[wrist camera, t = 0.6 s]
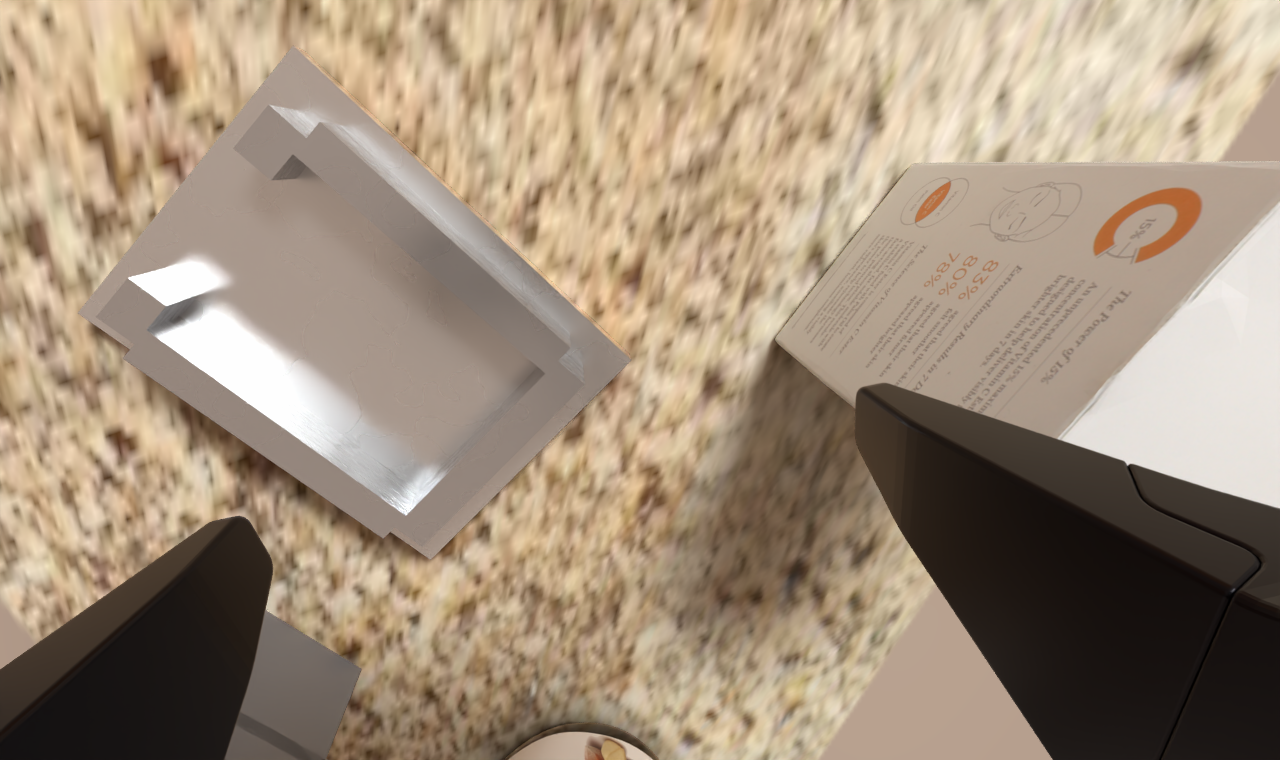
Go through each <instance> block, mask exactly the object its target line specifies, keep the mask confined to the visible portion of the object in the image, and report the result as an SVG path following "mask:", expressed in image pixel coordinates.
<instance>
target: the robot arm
mask: <svg viewBox="0 0 1280 760" xmlns="http://www.w3.org/2000/svg"><path fill="white" fill-rule="evenodd" d="M855 439H856V443H857V446H858V449H859V451H860V453H861V455H862V457H863V459H864V461H865V463H866V465H867V467H868V469H869V471H870V473H871V475H872V477H873V479H874V481H875V483H876V484H877V486H878V488H879V490H880V492H881V494H882V496H883V498H884V500H885V502H886V504H887V506H888V508H889V510H890V512H891V514H892V516H893V518H894V520H895V521H896V523H897V525H898V527H899V529H900V531H901V532H902V534H903V535H904V537H905V539H906V540H907V542H908V543H909V545H910V546H911V548H912V549H913V551H914V552H915V554H916V555H917V557H918V558H919V560H920V561H921V563H922V564H923V566H924V567H925V569H926V570H927V572H928V573H929V575H930V576H931V578H932V579H933V581H934V582H935V584H936V585H937V587H938V588H939V590H940V591H941V593H942V594H943V596H944V597H945V599H946V600H947V602H948V603H949V605H950V606H951V608H952V609H953V610H954V612H955V614H956V615H957V617H958V618H959V620H960V621H961V623H962V624H963V626H964V627H965V629H966V630H967V632H968V633H969V635H970V636H971V637H972V639H973V641H974V642H975V644H976V645H977V647H978V648H979V650H980V651H981V653H982V654H983V656H984V657H985V659H986V660H987V662H988V663H989V665H990V666H991V668H992V669H993V671H994V672H995V674H996V675H997V677H998V678H999V680H1000V681H1001V683H1002V684H1003V686H1004V687H1005V689H1006V690H1007V692H1008V693H1009V695H1010V696H1011V698H1012V699H1013V701H1014V702H1015V704H1016V705H1017V707H1018V708H1019V710H1020V711H1021V713H1022V714H1023V716H1024V717H1025V718H1026V720H1027V722H1028V723H1029V724H1030V726H1031V728H1032V729H1033V731H1034V732H1035V734H1036V735H1037V737H1038V738H1039V740H1040V741H1041V743H1042V744H1043V746H1044V747H1045V749H1046V750H1047V752H1048V753H1049V755H1050V756H1051V758H1052V759H1053V760H1280V508H1277V507H1273V506H1270V505H1266V504H1263V503H1259V502H1256V501H1252V500H1249V499H1245V498H1242V497H1238V496H1235V495H1231V494H1228V493H1224V492H1221V491H1217V490H1214V489H1210V488H1207V487H1204V486H1201V485H1198V484H1194V483H1191V482H1188V481H1185V480H1182V479H1178V478H1175V477H1172V476H1169V475H1166V474H1163V473H1160V472H1157V471H1154V470H1151V469H1148V468H1145V467H1142V466H1139V465H1136V464H1129V465H1128V466H1127V464H1126V462H1125V461H1123V460H1120V459H1117V458H1114V457H1111V456H1108V455H1105V454H1102V453H1099V452H1096V451H1093V450H1090V449H1087V448H1083V447H1080V446H1077V445H1074V444H1071V443H1068V442H1065V441H1062V440H1059V439H1056V438H1053V437H1050V436H1047V435H1044V434H1041V433H1038V432H1035V431H1032V430H1029V429H1026V428H1023V427H1020V426H1017V425H1014V424H1010V423H1007V422H1004V421H1001V420H998V419H995V418H992V417H989V416H986V415H983V414H980V413H977V412H974V411H971V410H968V409H965V408H962V407H959V406H956V405H953V404H950V403H947V402H944V401H941V400H938V399H934V398H931V397H928V396H925V395H922V394H919V393H916V392H913V391H910V390H907V389H904V388H901V387H898V386H895V385H892V384H889V383H878V384H873V385H868V386H864V387H861V388H859V390H858V391H857V393H856V399H855ZM272 575H273V564H272V560H271V557H270V555H269V553H268V552H267V550H266V548H265V546H264V545H263V543H262V541H261V540H260V538H259V536H258V535H257V533H256V531H255V530H254V528H253V526H252V524H251V523H250V522H249V520H247V519H246V518H244V517H241V516H235V517H230V518H225V519H220V520H216V521H212V522H210V523H208V524H206V525H205V526H204V527H202V528H201V529H199V530H198V531H197V532H195V533H194V534H192V535H191V536H189V537H188V538H187V539H185V540H184V541H182V542H181V543H179V544H178V545H177V546H175V547H174V548H172V549H171V550H170V551H168V552H167V553H165V554H164V555H162V556H161V557H160V558H158V559H157V560H155V561H154V562H152V563H151V564H150V565H148V566H147V567H145V568H144V569H142V570H141V571H140V572H138V573H137V574H135V575H134V576H133V577H131V578H130V579H128V580H127V581H125V582H124V583H123V584H121V585H120V586H118V587H117V588H115V589H114V590H113V591H111V592H110V593H108V594H107V595H105V596H104V597H103V598H101V599H100V600H98V601H97V602H96V603H94V604H93V605H91V606H90V607H88V608H87V609H86V610H84V611H83V612H81V613H80V614H78V615H77V616H76V617H74V618H73V619H71V620H70V621H68V622H67V623H66V624H64V625H63V626H61V627H60V628H59V629H57V630H56V631H54V632H53V633H51V634H50V635H49V636H47V637H46V638H44V639H43V640H41V641H40V642H39V643H37V644H36V645H34V646H33V647H32V648H30V649H29V650H27V651H26V652H24V653H23V654H22V655H20V656H19V657H17V658H16V659H14V660H13V661H12V662H10V663H9V664H7V665H6V666H5V667H3V668H2V669H0V760H225V757H226V754H227V751H228V748H229V744H230V741H231V738H232V735H233V732H234V729H235V726H236V723H237V720H238V716H239V713H240V710H241V707H242V704H243V701H244V698H245V695H246V692H247V688H248V685H249V681H250V678H251V675H252V671H253V666H254V662H255V658H256V654H257V649H258V644H259V639H260V634H261V629H262V624H263V620H264V615H265V610H266V605H267V600H268V595H269V590H270V585H271V580H272Z"/></svg>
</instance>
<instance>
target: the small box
mask: <svg viewBox="0 0 1280 760" xmlns="http://www.w3.org/2000/svg"><path fill="white" fill-rule="evenodd" d="M775 341H776V342H777V343H778V344H779V345H780V346H781V347H782V348H783V349H784V350H786V351H787V352H788V353H789V354H790V355H792V356H793V357H794V358H795V359H796V360H797V361H798V362H800V363H801V364H802V365H803V366H804V367H805V368H806V369H808V370H809V371H810V372H811V373H812V374H813V375H815V376H816V377H817V378H818V379H819V380H820V381H822V382H823V383H824V384H825V385H826V386H828V387H829V388H830V389H831V390H833V391H834V392H835V393H836V394H838V395H839V396H840V397H841V398H843V399H844V400H845V401H846V402H847V403H849V404H850V405H851V406H852V407H854V408H855V399H856V393H857V391H858V390H859V388H861V387H864V386H868V385H873V384H878V383H889V384H892V385H895V386H898V387H901V388H904V389H907V390H910V391H913V392H916V393H919V394H922V395H925V396H928V397H931V398H934V399H938V400H941V401H944V402H947V403H950V404H953V405H956V406H959V407H962V408H965V409H968V410H971V411H974V412H977V413H980V414H983V415H986V416H989V417H992V418H995V419H998V420H1001V421H1004V422H1007V423H1010V424H1014V425H1017V426H1020V427H1023V428H1026V429H1029V430H1032V431H1035V432H1038V433H1041V434H1044V435H1047V436H1050V437H1053V438H1056V439H1059V440H1062V441H1065V442H1068V443H1071V444H1074V445H1077V446H1080V447H1083V448H1087V449H1090V450H1093V451H1096V452H1099V453H1102V454H1105V455H1108V456H1111V457H1114V458H1117V459H1120V460H1123V461H1125V462H1126V464H1127V466H1128V465H1129V464H1136V465H1139V466H1142V467H1145V468H1148V469H1151V470H1154V471H1157V472H1160V473H1163V474H1166V475H1169V476H1172V477H1175V478H1178V479H1182V480H1185V481H1188V482H1191V483H1194V484H1198V485H1201V486H1204V487H1207V488H1210V489H1214V490H1217V491H1221V492H1224V493H1228V494H1231V495H1235V496H1238V497H1242V498H1245V499H1249V500H1252V501H1256V502H1259V503H1263V504H1266V505H1270V506H1273V507H1277V508H1280V161H1268V162H1267V161H1265V162H1236V161H1234V162H1054V163H1039V162H962V163H914V164H912V165H911V166H910V167H909V168H908V169H907V171H906V172H905V173H904V174H903V176H902V177H901V178H900V180H899V181H898V182H897V183H896V185H895V186H894V187H893V188H892V190H891V191H890V192H889V193H888V195H887V196H886V197H885V198H884V200H883V201H882V202H881V203H880V205H879V206H878V207H877V208H876V210H875V211H874V212H873V214H872V215H871V216H870V217H869V219H868V220H867V221H866V222H865V224H864V225H863V226H862V228H861V229H860V230H859V231H858V233H857V234H856V235H855V237H854V238H853V239H852V240H851V242H850V243H849V244H848V245H847V247H846V248H845V249H844V250H843V252H842V253H841V254H840V255H839V257H838V258H837V259H836V260H835V262H834V263H833V264H832V266H831V267H830V268H829V269H828V271H827V272H826V273H825V274H824V276H823V277H822V278H821V280H820V281H819V282H818V283H817V285H816V286H815V287H814V289H813V290H812V291H811V292H810V294H809V295H808V296H807V298H806V299H805V300H804V301H803V303H802V304H801V305H800V307H799V308H798V309H797V310H796V312H795V313H794V314H793V315H792V317H791V318H790V319H789V321H788V322H787V323H786V325H785V326H784V327H783V328H782V330H781V331H780V332H779V334H778V335H777V336H776V338H775Z"/></svg>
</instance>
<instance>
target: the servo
mask: <svg viewBox="0 0 1280 760" xmlns="http://www.w3.org/2000/svg"><path fill="white" fill-rule="evenodd" d="M360 672H361V668H359V667H358V666H356V665H354V664H353V663H351V662H349V661H348V660H346V659H344V658H343V657H341V656H339V655H338V654H336V653H335V652H333V651H331V650H330V649H328V648H326V647H325V646H323V645H321V644H320V643H318V642H317V641H315V640H313V639H312V638H310V637H308V636H307V635H305V634H303V633H302V632H300V631H298V630H297V629H295V628H294V627H292V626H290V625H289V624H287V623H285V622H284V621H282V620H280V619H279V618H277V617H275V616H274V615H272V614H271V613H269V612H267V611H266V610H265V615H264V620H263V624H262V629H261V634H260V639H259V644H258V649H257V654H256V658H255V662H254V666H253V671H252V675H251V678H250V681H249V685H248V688H247V692H246V695H245V698H244V701H243V704H242V707H241V710H240V713H239V716H238V720H237V723H236V726H235V729H234V732H233V735H232V738H231V741H230V744H229V748H228V751H227V754H226V757H225V760H327V759H326V757H327V755H328V752H329V750H330V747H331V745H332V742H333V740H334V737H335V735H336V732H337V730H338V727H339V725H340V722H341V720H342V717H343V715H344V712H345V710H346V707H347V705H348V702H349V700H350V697H351V694H352V692H353V689H354V687H355V684H356V682H357V679H358V677H359V674H360Z"/></svg>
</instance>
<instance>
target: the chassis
mask: <svg viewBox="0 0 1280 760" xmlns="http://www.w3.org/2000/svg"><path fill="white" fill-rule="evenodd" d="M78 314H80V315H81V316H82V317H84V318H85V319H87V320H88V321H90V322H91V323H92V324H94V325H95V326H97V327H98V328H100V329H101V330H102V331H104V332H105V333H107V334H108V335H110V336H111V337H113V338H114V339H115V340H117V341H118V342H120V343H121V344H123V345H124V346H125V347H127V348H128V349H130V350H129V351H128V353H127V354H126V355H125V356H124V357H123V359H124V360H126V361H127V362H129V363H130V364H132V365H133V366H134V367H136V368H137V369H139V370H140V371H142V372H143V373H145V374H146V375H147V376H149V377H150V378H152V379H153V380H155V381H156V382H158V383H159V384H160V385H162V386H163V387H165V388H166V389H168V390H169V391H171V392H172V393H173V394H175V395H176V396H178V397H179V398H181V399H182V400H184V401H185V402H186V403H188V404H189V405H191V406H192V407H194V408H195V409H197V410H198V411H199V412H201V413H202V414H204V415H205V416H207V417H208V418H210V419H211V420H212V421H214V422H215V423H217V424H218V425H220V426H221V427H223V428H224V429H225V430H227V431H228V432H230V433H231V434H233V435H234V436H236V437H237V438H238V439H240V440H241V441H243V442H244V443H246V444H247V445H249V446H250V447H251V448H253V449H254V450H256V451H257V452H259V453H260V454H262V455H263V456H264V457H266V458H267V459H269V460H270V461H272V462H273V463H275V464H276V465H277V466H279V467H280V468H282V469H283V470H285V471H286V472H288V473H289V474H290V475H292V476H293V477H295V478H296V479H298V480H299V481H301V482H302V483H303V484H305V485H306V486H308V487H309V488H311V489H312V490H314V491H315V492H316V493H318V494H319V495H321V496H322V497H324V498H325V499H327V500H328V501H329V502H331V503H332V504H334V505H335V506H337V507H338V508H340V509H341V510H342V511H344V512H345V513H347V514H348V515H350V516H351V517H353V518H354V519H355V520H357V521H358V522H360V523H361V524H363V525H364V526H366V527H367V528H368V529H370V530H371V531H373V532H374V533H376V534H377V535H379V536H380V537H381V538H383V539H384V538H385V537H386V536H387V535H388V534H389V533H390V532H391V533H393V534H394V535H396V536H397V537H399V538H400V539H401V540H403V541H404V542H406V543H407V544H409V545H410V546H411V547H413V548H414V549H416V550H417V551H419V552H420V553H421V554H423V555H424V556H426V557H427V558H429V559H430V560H431V559H432V558H433V557H434V556H435V555H436V554H437V553H438V552H439V551H440V550H441V549H442V548H443V547H444V546H445V545H446V544H447V543H448V542H449V541H450V540H451V539H452V538H453V537H454V536H455V535H456V534H457V533H458V532H459V531H460V530H461V529H462V528H463V527H464V526H465V525H466V524H467V523H468V522H469V521H470V520H471V519H472V518H473V517H474V516H475V515H476V514H477V513H478V512H479V511H480V510H481V509H482V508H483V507H484V506H485V505H486V504H487V503H488V502H489V501H490V500H491V499H492V498H493V497H494V496H495V495H496V494H497V493H498V492H499V491H500V490H501V489H502V488H503V487H504V486H505V485H506V484H507V483H508V482H509V481H510V480H511V479H512V478H513V477H514V476H515V475H516V474H517V473H518V472H519V471H520V470H521V469H522V468H523V467H524V466H525V465H526V464H528V463H529V462H530V461H531V460H532V459H533V458H534V457H535V456H536V455H537V454H538V453H539V452H540V451H541V450H542V449H543V448H544V447H545V446H546V445H547V444H548V443H549V442H550V441H551V440H552V439H553V438H554V437H555V436H556V435H557V434H558V433H559V432H560V431H561V430H562V429H563V428H564V427H565V426H566V425H567V424H568V423H569V422H570V421H571V420H572V419H573V418H574V417H575V416H576V415H577V414H578V413H579V412H580V411H581V410H582V409H583V408H584V407H585V406H586V405H587V404H588V403H589V402H590V401H591V400H592V399H593V398H594V397H595V396H596V395H597V394H598V393H599V392H600V391H601V390H602V389H603V388H604V387H605V386H606V385H607V384H608V383H609V382H610V381H611V380H612V379H613V378H614V377H615V376H616V375H617V374H618V373H619V372H620V371H621V370H622V369H623V368H624V367H625V366H626V365H627V364H628V363H629V362H630V361H631V357H630V354H629V353H628V352H627V351H626V350H625V349H624V348H623V347H622V346H621V345H620V344H618V343H617V342H616V341H615V340H614V339H613V338H612V337H611V336H610V335H609V334H608V333H607V332H606V331H604V330H603V329H602V328H601V327H600V326H599V325H598V324H597V323H596V322H595V321H594V320H593V319H592V318H591V317H589V316H588V315H587V314H586V313H585V312H584V311H583V310H582V309H581V308H580V307H579V306H578V305H577V304H576V303H574V302H573V301H572V300H571V299H570V298H569V297H568V296H567V295H566V294H565V293H564V292H563V291H562V290H561V289H559V288H558V287H557V286H556V285H555V284H554V283H553V282H552V281H551V280H550V279H549V278H548V277H547V276H546V275H544V274H543V273H542V272H541V271H540V270H539V269H538V268H537V267H536V266H535V265H534V264H533V263H532V262H530V261H529V260H528V259H527V258H526V257H525V256H524V255H523V254H522V253H521V252H520V251H519V250H518V249H517V248H515V247H514V246H513V245H512V244H511V243H510V242H509V241H508V240H507V239H506V238H505V237H504V236H503V235H502V234H500V233H499V232H498V231H497V230H496V229H495V228H494V227H493V226H492V225H491V224H490V223H489V222H488V221H487V220H485V219H484V218H483V217H482V216H481V215H480V214H479V213H478V212H477V211H476V210H475V209H474V208H473V207H472V206H470V205H469V204H468V203H467V202H466V201H465V200H464V199H463V198H462V197H461V196H460V195H459V194H458V193H456V192H455V191H454V190H453V189H452V188H451V187H450V186H449V185H448V184H447V183H446V182H445V181H444V180H443V179H441V178H440V177H439V176H438V175H437V174H436V173H435V172H434V171H433V170H432V169H431V168H430V167H429V166H428V165H426V164H425V163H424V162H423V161H422V160H421V159H420V158H419V157H418V156H417V155H416V154H415V153H414V152H413V151H411V150H410V149H409V148H408V147H407V146H406V145H405V144H404V143H403V142H402V141H401V140H400V139H399V138H397V137H396V136H395V135H394V134H393V133H392V132H391V131H390V130H389V129H388V128H387V127H386V126H385V125H384V124H382V123H381V122H380V121H379V120H378V119H377V118H376V117H375V116H374V115H373V114H372V113H371V112H370V111H369V110H367V109H366V108H365V107H364V106H363V105H362V104H361V103H360V102H359V101H358V100H357V99H356V98H355V97H354V96H352V95H351V94H350V93H349V92H348V91H347V90H346V89H345V88H344V87H343V86H342V85H341V84H340V83H339V82H337V81H336V80H335V79H334V78H333V77H332V76H331V75H330V74H329V73H328V72H327V71H326V70H325V69H323V68H322V67H321V66H320V65H319V64H318V63H317V62H316V61H315V60H314V59H313V58H312V57H311V56H310V55H308V54H307V53H306V52H305V51H304V50H302V49H300V48H298V47H295V46H293V47H292V48H291V49H290V50H289V51H288V53H287V54H286V55H285V56H284V58H283V59H282V60H281V61H280V63H279V64H278V65H277V66H276V68H275V69H274V70H273V71H272V73H271V74H270V75H269V76H268V78H267V79H266V80H265V81H264V83H263V84H262V85H261V86H260V87H259V89H258V90H257V91H256V92H255V94H254V95H253V96H252V97H251V99H250V100H249V101H248V102H247V104H246V105H245V106H244V107H243V109H242V110H241V111H240V112H239V114H238V115H237V116H236V117H235V119H234V120H233V121H232V122H231V123H230V125H229V126H228V127H227V128H226V130H225V131H224V132H223V133H222V135H221V136H220V137H219V138H218V140H217V141H216V142H215V143H214V145H213V146H212V147H211V148H210V150H209V151H208V152H207V153H206V155H205V156H204V157H203V158H202V159H201V161H200V162H199V163H198V164H197V166H196V167H195V168H194V169H193V171H192V172H191V173H190V174H189V176H188V177H187V178H186V179H185V181H184V182H183V183H182V184H181V186H180V187H179V188H178V189H177V191H176V192H175V193H174V194H173V195H172V197H171V198H170V199H169V200H168V202H167V203H166V204H165V205H164V207H163V208H162V209H161V210H160V212H159V213H158V214H157V215H156V217H155V218H154V219H153V220H152V222H151V223H150V224H149V225H148V226H147V228H146V229H145V230H144V231H143V233H142V234H141V235H140V236H139V238H138V239H137V240H136V241H135V243H134V244H133V245H132V246H131V248H130V249H129V250H128V251H127V253H126V254H125V255H124V256H123V258H122V259H121V260H120V261H119V262H118V264H117V265H116V266H115V267H114V269H113V270H112V271H111V272H110V274H109V275H108V276H107V277H106V279H105V280H104V281H103V282H102V284H101V285H100V286H99V287H98V289H97V290H96V291H95V292H94V294H93V295H92V296H91V297H90V298H89V300H88V301H87V302H86V303H85V305H84V306H83V307H82V308H81V310H80V311H79V312H78Z"/></svg>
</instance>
